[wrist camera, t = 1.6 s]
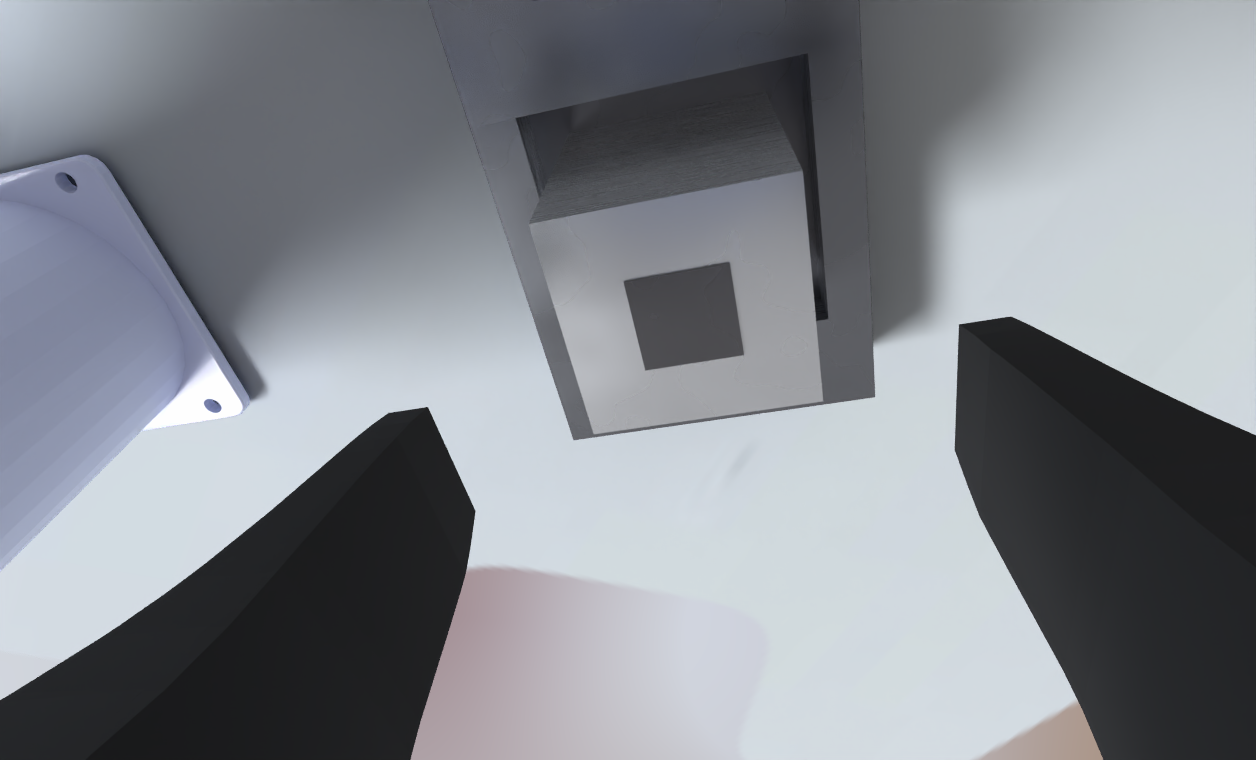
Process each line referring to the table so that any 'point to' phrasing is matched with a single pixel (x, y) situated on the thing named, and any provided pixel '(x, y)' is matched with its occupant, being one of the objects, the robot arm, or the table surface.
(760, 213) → the cube with square inset
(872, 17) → the table surface
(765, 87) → the plate with square cutouts
